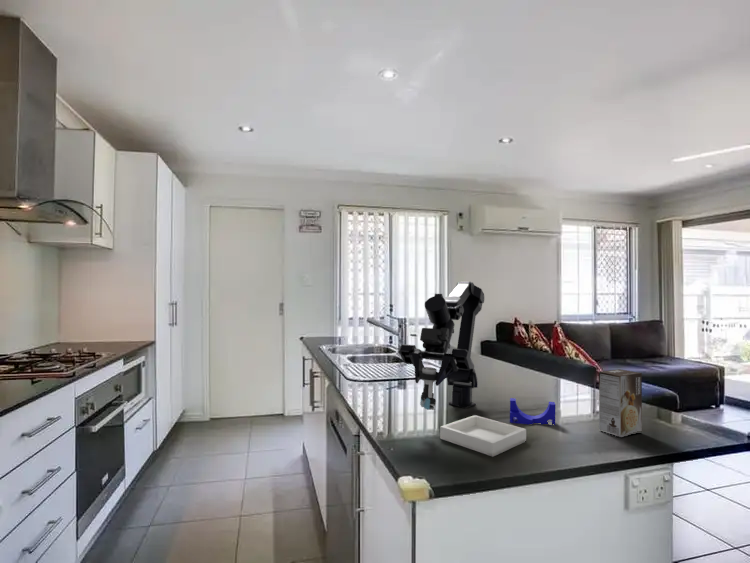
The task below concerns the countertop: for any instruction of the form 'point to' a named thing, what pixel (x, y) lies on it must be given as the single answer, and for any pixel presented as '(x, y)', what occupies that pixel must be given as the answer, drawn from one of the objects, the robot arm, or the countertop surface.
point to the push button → (428, 387)
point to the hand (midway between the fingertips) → (426, 383)
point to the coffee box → (620, 401)
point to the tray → (483, 435)
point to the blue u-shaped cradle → (528, 419)
